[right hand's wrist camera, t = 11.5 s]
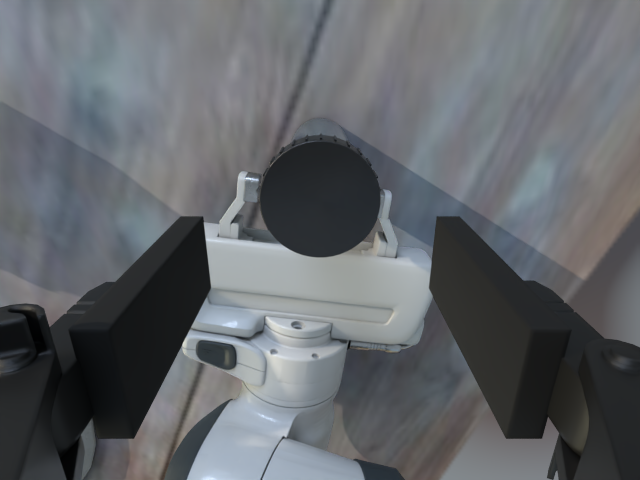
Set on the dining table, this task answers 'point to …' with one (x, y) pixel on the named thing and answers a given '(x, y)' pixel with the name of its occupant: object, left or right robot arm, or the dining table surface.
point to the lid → (320, 196)
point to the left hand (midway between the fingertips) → (316, 182)
